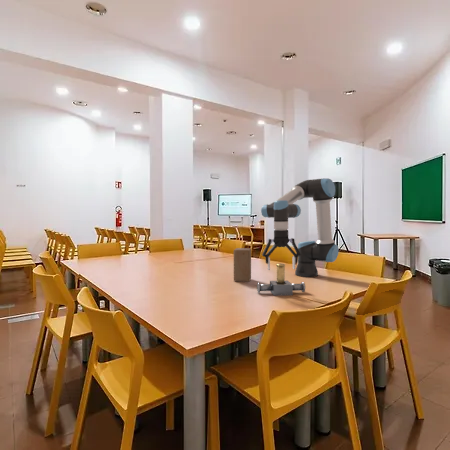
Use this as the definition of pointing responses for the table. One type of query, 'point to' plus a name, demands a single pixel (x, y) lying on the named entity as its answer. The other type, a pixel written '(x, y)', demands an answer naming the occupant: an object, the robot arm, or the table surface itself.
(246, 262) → the wooden block
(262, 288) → the valve body
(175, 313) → the table surface
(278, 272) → the valve handle
